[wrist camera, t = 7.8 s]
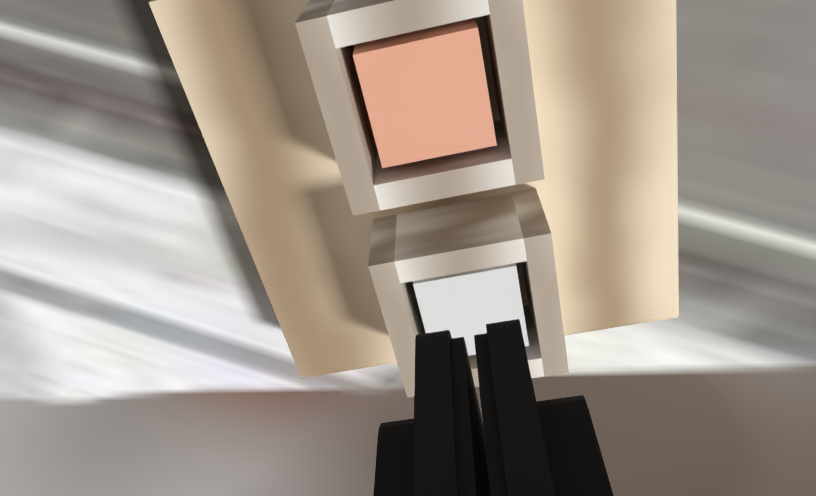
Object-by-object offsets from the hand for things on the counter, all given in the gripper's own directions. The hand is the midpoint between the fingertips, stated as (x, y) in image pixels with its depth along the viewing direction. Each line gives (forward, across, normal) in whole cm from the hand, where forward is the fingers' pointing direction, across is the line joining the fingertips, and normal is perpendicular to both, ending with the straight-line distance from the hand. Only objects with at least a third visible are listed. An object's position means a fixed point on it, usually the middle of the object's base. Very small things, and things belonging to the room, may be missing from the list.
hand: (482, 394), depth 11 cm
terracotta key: (+16, +1, -1) cm, 16 cm away
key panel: (+19, +1, +4) cm, 20 cm away
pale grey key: (+16, +1, +9) cm, 18 cm away
